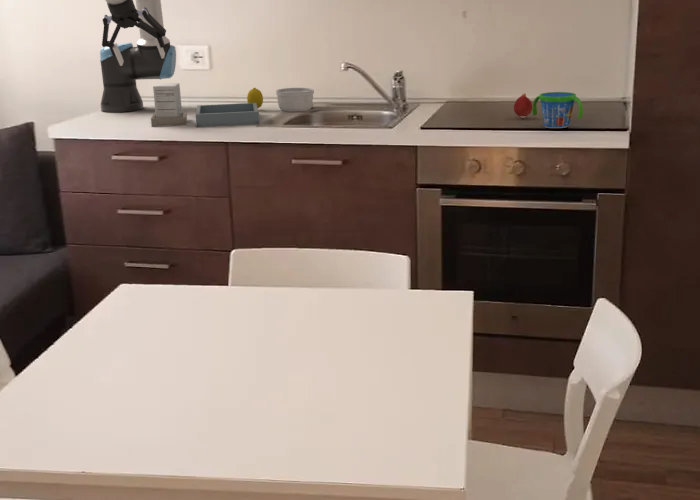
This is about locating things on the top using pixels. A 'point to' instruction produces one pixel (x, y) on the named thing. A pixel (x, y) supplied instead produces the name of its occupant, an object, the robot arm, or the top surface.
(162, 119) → the collar
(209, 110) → the tray
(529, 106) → the onion
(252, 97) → the lemon
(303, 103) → the ramekin
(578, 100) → the snack cup
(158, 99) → the supplement box
